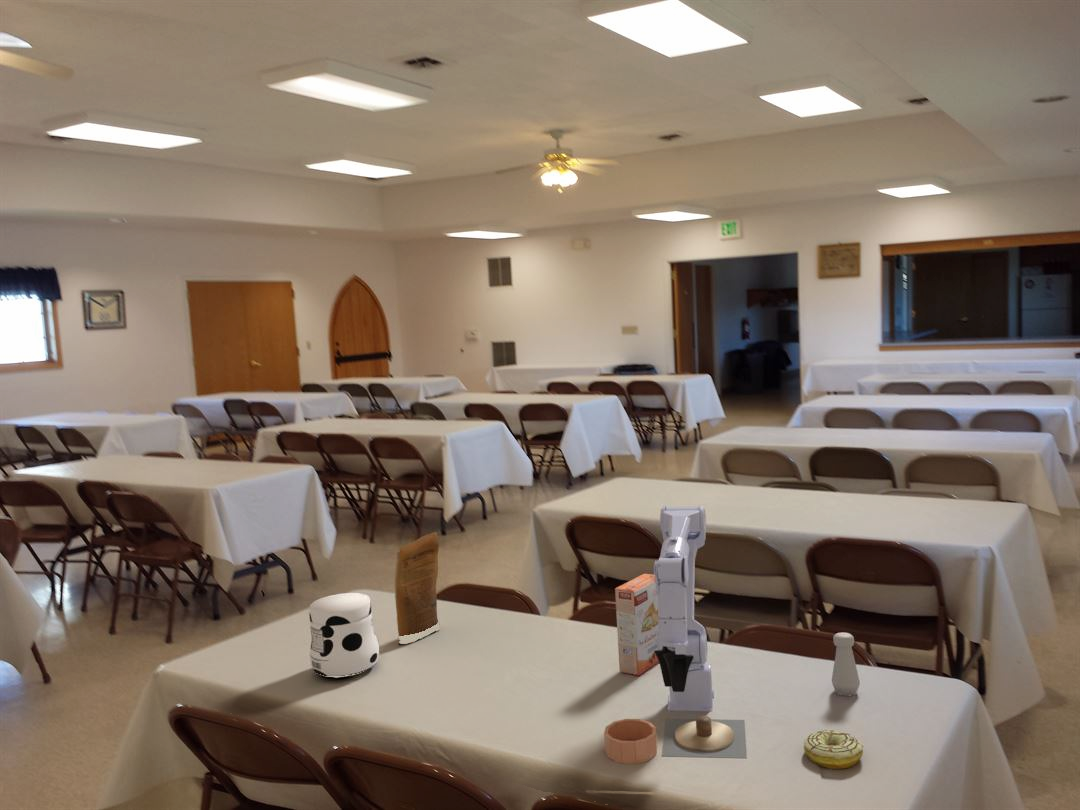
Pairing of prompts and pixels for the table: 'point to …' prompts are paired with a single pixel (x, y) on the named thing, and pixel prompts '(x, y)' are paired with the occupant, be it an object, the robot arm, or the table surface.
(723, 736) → the lid
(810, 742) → the decorated donut
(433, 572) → the pancake mix bag
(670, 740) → the mat
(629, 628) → the cracker box
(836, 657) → the salt shaker
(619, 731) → the bowl
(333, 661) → the milk container
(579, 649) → the table surface
